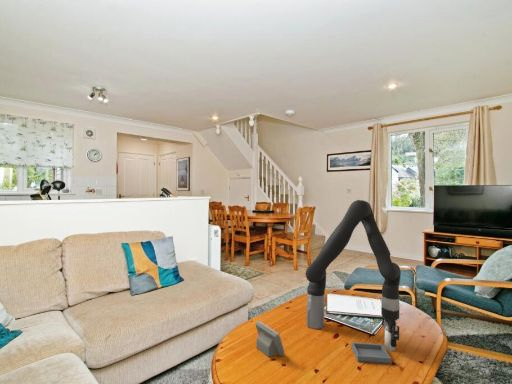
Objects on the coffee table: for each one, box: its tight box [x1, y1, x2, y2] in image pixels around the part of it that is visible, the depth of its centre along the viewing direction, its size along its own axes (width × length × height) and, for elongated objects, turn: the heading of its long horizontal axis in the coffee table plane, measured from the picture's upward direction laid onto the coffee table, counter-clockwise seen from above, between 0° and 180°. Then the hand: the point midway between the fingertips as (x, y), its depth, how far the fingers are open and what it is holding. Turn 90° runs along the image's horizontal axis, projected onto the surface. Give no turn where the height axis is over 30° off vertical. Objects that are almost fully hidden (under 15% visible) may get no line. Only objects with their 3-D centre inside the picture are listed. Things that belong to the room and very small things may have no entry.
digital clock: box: [255, 320, 285, 358], centre depth 121 cm, size 16×9×11 cm, turn 25°
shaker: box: [384, 325, 397, 352], centre depth 123 cm, size 5×5×10 cm
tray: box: [350, 341, 392, 365], centre depth 118 cm, size 14×11×2 cm
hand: (390, 341), depth 123 cm, fingers open, 7 cm apart
